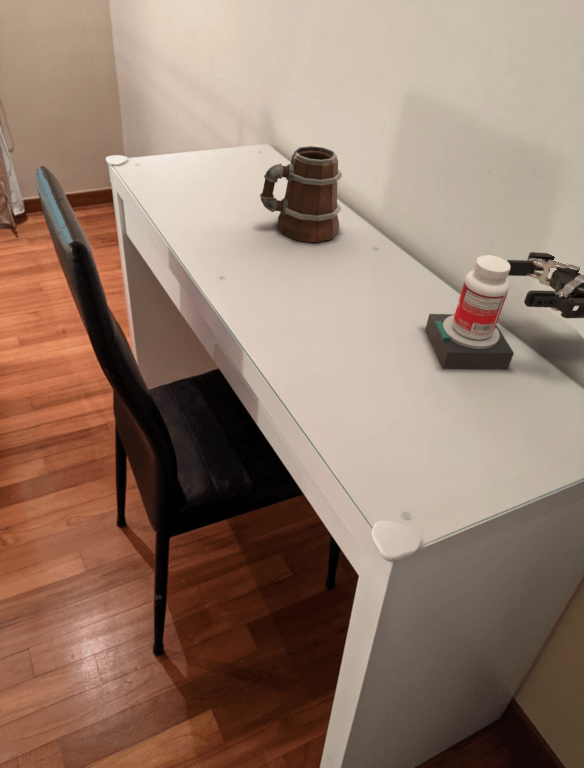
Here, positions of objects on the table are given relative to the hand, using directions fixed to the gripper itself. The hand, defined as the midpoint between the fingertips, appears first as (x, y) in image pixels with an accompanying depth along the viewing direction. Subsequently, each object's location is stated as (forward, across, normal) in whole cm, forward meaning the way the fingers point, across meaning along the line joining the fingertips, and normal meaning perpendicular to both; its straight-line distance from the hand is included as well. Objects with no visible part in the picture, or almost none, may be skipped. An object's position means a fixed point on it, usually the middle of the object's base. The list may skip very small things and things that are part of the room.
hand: (515, 282), depth 86 cm
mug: (+26, -39, +12) cm, 48 cm away
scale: (+4, 0, +12) cm, 12 cm away
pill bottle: (+4, 0, +8) cm, 9 cm away
